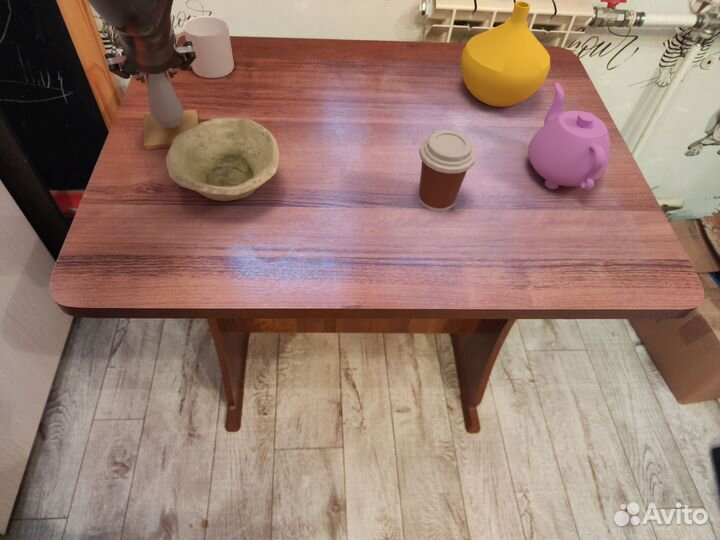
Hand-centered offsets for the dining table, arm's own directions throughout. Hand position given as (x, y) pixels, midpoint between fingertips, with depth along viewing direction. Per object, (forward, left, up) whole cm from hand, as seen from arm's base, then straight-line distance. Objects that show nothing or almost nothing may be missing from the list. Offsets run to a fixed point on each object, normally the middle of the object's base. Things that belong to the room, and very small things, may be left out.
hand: (155, 74), depth 86 cm
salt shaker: (0, -2, -9) cm, 9 cm away
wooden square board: (0, -2, -11) cm, 11 cm away
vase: (+69, -1, -11) cm, 70 cm away
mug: (+8, +20, -11) cm, 24 cm away
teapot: (+70, -27, -11) cm, 76 cm away
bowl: (+9, -20, -11) cm, 24 cm away
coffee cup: (+44, -30, -11) cm, 54 cm away
